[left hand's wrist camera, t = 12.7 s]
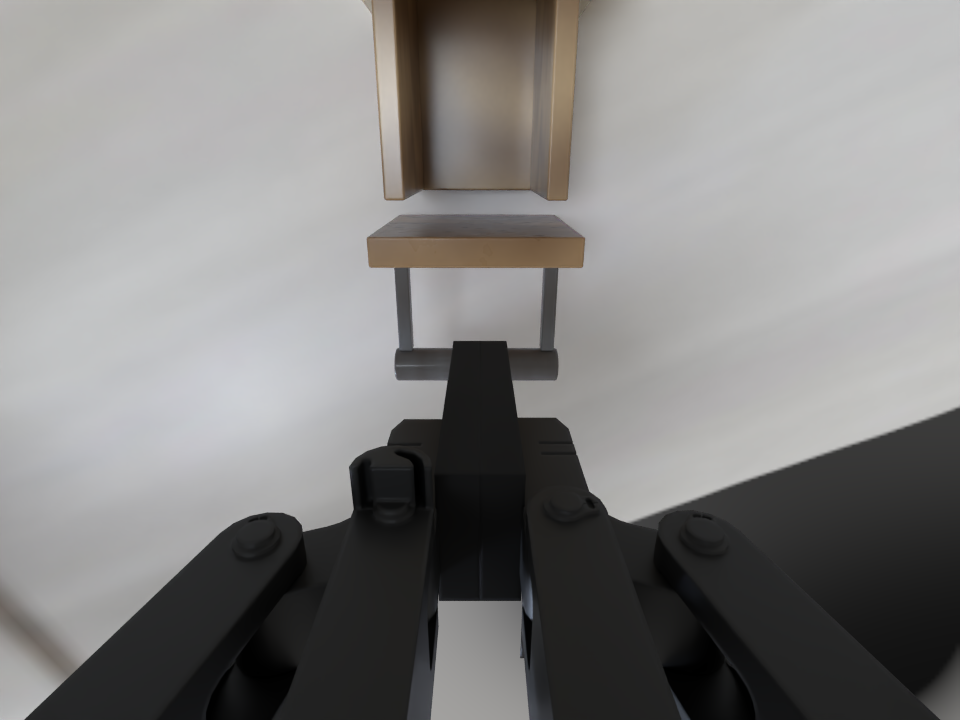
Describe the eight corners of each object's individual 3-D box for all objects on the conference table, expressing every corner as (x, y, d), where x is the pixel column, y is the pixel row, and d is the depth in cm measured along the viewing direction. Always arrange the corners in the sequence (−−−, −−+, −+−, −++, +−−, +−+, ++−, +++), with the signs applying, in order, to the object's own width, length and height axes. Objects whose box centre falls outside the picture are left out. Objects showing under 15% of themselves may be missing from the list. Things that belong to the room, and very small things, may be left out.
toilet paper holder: (548, 338, 30) (573, 401, 22) (405, 338, 30) (379, 401, 22) (573, -125, 22) (624, -281, 14) (379, -125, 22) (324, -281, 14)
